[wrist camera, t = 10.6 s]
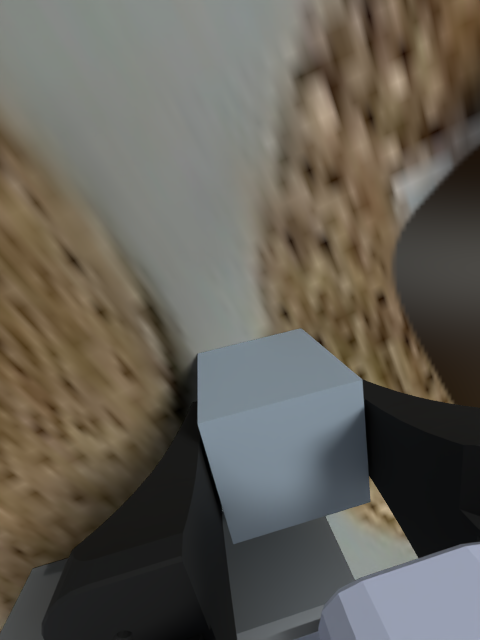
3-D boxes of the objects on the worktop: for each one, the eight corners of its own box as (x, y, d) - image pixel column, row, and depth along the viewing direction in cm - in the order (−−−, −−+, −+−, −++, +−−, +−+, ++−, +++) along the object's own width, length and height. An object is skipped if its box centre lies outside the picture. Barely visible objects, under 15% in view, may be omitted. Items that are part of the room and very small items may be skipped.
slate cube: (221, 440, 14) (233, 544, 9) (197, 353, 12) (197, 424, 8) (313, 415, 14) (370, 501, 10) (301, 328, 13) (362, 379, 8)
